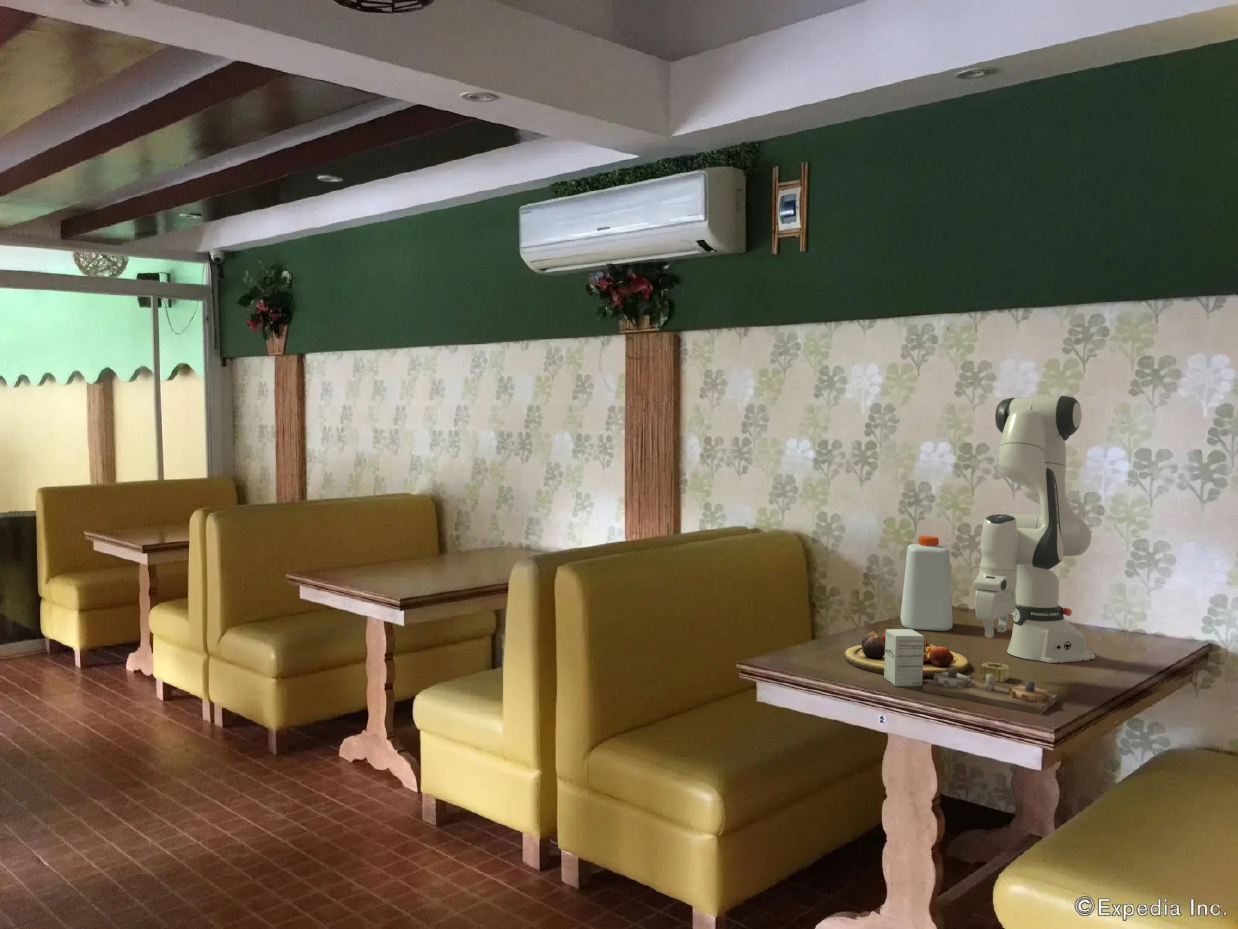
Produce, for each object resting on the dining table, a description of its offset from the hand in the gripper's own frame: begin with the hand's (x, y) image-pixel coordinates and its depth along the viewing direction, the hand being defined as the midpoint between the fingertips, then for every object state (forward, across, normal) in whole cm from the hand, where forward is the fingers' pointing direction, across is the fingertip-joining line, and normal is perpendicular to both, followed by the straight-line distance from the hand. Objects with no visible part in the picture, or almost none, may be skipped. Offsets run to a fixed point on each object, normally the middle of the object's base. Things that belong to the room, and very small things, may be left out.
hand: (995, 634), depth 250 cm
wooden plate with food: (+12, -1, -24) cm, 26 cm away
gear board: (+12, +16, +4) cm, 20 cm away
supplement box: (+12, +18, -16) cm, 27 cm away
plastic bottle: (+10, -49, -36) cm, 62 cm away
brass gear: (+11, -1, 0) cm, 11 cm away
